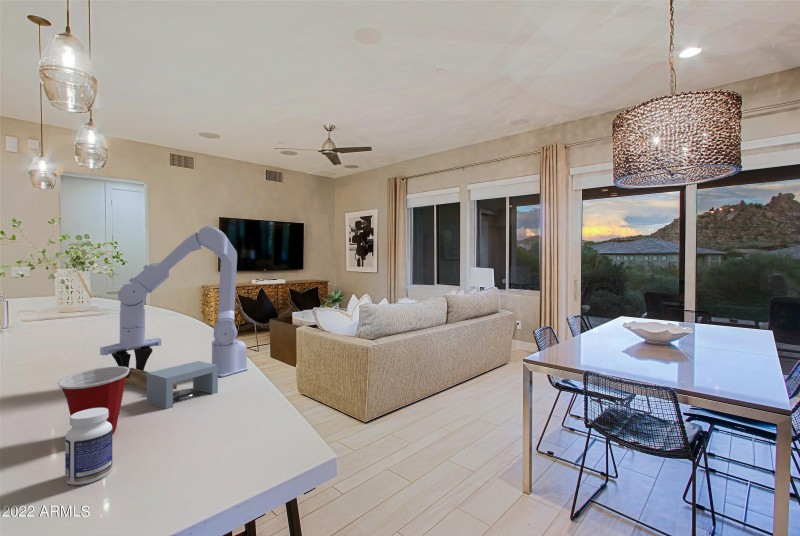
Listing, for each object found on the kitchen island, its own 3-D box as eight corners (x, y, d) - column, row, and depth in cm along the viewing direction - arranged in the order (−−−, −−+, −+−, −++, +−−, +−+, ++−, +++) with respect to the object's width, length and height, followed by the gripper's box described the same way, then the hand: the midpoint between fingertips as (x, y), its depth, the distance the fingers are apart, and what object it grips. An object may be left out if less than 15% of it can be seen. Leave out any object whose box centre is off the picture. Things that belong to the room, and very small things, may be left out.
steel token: (187, 393, 98) (187, 389, 98) (199, 397, 95) (199, 392, 95) (167, 399, 93) (167, 394, 93) (179, 403, 91) (179, 398, 91)
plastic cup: (45, 441, 71) (45, 376, 70) (112, 420, 80) (112, 363, 80) (74, 455, 66) (74, 386, 65) (141, 431, 75) (141, 370, 75)
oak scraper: (138, 378, 109) (138, 366, 109) (176, 389, 100) (176, 375, 100) (116, 383, 104) (116, 371, 104) (154, 395, 95) (154, 381, 95)
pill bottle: (121, 466, 62) (121, 406, 62) (91, 487, 57) (91, 420, 56) (87, 465, 62) (87, 405, 62) (54, 486, 57) (54, 419, 57)
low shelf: (198, 387, 102) (198, 360, 102) (217, 392, 98) (217, 365, 98) (146, 402, 90) (146, 372, 90) (166, 408, 87) (166, 378, 86)
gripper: (151, 322, 114) (151, 367, 114) (94, 329, 101) (94, 380, 101) (165, 324, 110) (165, 371, 110) (107, 332, 97) (107, 384, 98)
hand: (132, 375), depth 105 cm, fingers open, 3 cm apart
